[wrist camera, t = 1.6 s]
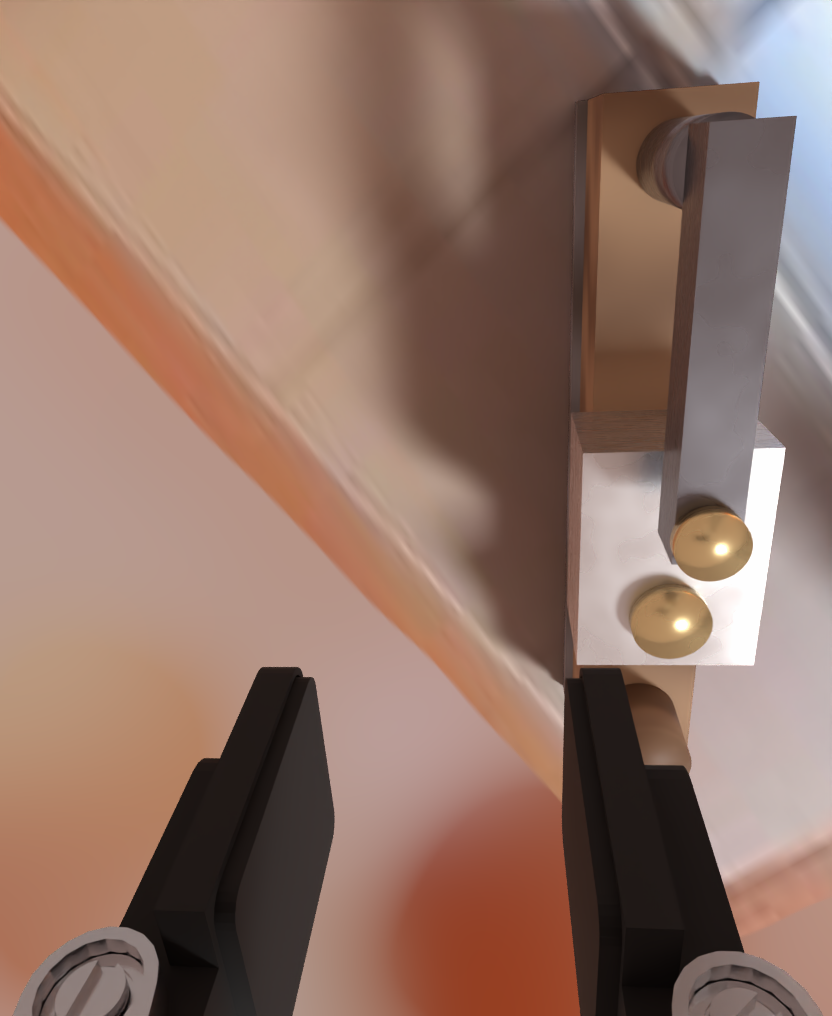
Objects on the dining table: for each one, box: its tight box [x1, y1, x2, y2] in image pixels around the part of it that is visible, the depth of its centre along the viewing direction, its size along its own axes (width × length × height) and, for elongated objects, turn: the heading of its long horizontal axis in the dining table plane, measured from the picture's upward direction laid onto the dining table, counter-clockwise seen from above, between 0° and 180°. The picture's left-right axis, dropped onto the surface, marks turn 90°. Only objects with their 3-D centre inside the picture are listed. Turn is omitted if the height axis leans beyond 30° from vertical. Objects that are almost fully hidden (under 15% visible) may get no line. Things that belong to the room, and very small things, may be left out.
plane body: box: [563, 82, 759, 774], centre depth 29 cm, size 26×5×8 cm, turn 4°
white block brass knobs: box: [567, 409, 785, 665], centre depth 27 cm, size 8×6×5 cm
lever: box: [636, 112, 797, 582], centre depth 22 cm, size 11×2×8 cm, turn 4°
